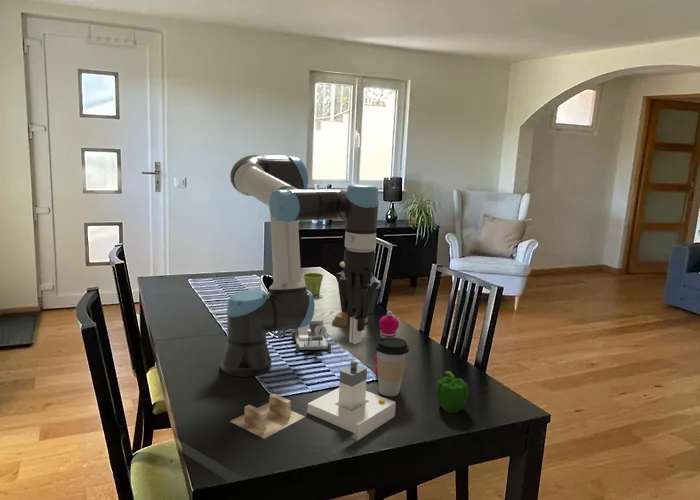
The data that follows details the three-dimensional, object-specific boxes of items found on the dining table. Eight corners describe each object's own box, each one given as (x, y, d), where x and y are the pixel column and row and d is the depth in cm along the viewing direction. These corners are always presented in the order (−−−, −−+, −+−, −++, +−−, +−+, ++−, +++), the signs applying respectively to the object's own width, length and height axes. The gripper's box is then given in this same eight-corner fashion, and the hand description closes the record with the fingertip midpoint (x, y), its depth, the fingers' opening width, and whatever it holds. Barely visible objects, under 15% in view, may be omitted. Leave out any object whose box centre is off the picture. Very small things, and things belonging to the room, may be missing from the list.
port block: (307, 418, 141) (307, 401, 140) (346, 397, 154) (346, 381, 153) (357, 440, 132) (358, 422, 131) (394, 416, 144) (395, 399, 143)
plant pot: (322, 296, 250) (323, 278, 249) (301, 295, 250) (302, 277, 249) (323, 291, 260) (324, 273, 258) (303, 290, 260) (304, 272, 258)
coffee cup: (370, 384, 162) (373, 335, 159) (402, 384, 163) (406, 336, 160) (375, 399, 153) (378, 347, 150) (408, 399, 154) (412, 348, 151)
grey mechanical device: (333, 327, 181) (298, 328, 179) (332, 356, 183) (297, 357, 181) (324, 311, 199) (292, 311, 196) (323, 337, 201) (291, 337, 198)
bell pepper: (472, 414, 147) (475, 379, 145) (444, 417, 145) (447, 381, 143) (457, 400, 155) (460, 366, 153) (430, 403, 152) (433, 368, 151)
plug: (338, 415, 141) (340, 363, 138) (352, 407, 146) (354, 356, 143) (350, 420, 139) (353, 367, 136) (364, 412, 144) (367, 360, 141)
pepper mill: (400, 371, 173) (404, 309, 169) (394, 380, 166) (398, 316, 162) (377, 367, 175) (381, 306, 171) (371, 375, 168) (374, 312, 164)
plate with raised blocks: (229, 426, 135) (229, 405, 134) (271, 406, 146) (271, 387, 145) (264, 444, 128) (264, 422, 127) (305, 422, 139) (305, 401, 138)
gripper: (328, 246, 135) (325, 338, 140) (373, 255, 127) (368, 352, 132) (347, 243, 141) (343, 331, 146) (391, 251, 133) (385, 344, 138)
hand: (355, 341), depth 139 cm, fingers closed
